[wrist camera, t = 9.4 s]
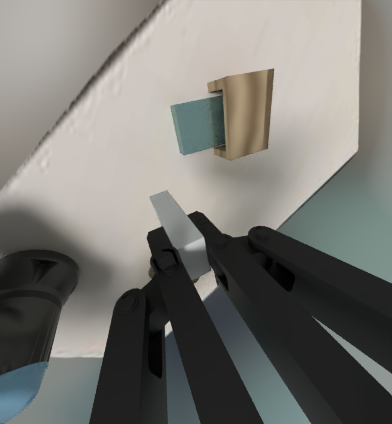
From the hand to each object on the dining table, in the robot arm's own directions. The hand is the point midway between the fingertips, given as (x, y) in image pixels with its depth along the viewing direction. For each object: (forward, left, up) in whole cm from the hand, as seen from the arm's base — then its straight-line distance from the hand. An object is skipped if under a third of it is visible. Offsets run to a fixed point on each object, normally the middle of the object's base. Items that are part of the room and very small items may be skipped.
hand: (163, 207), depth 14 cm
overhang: (+23, +2, -25) cm, 34 cm away
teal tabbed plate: (+17, +2, -25) cm, 30 cm away
